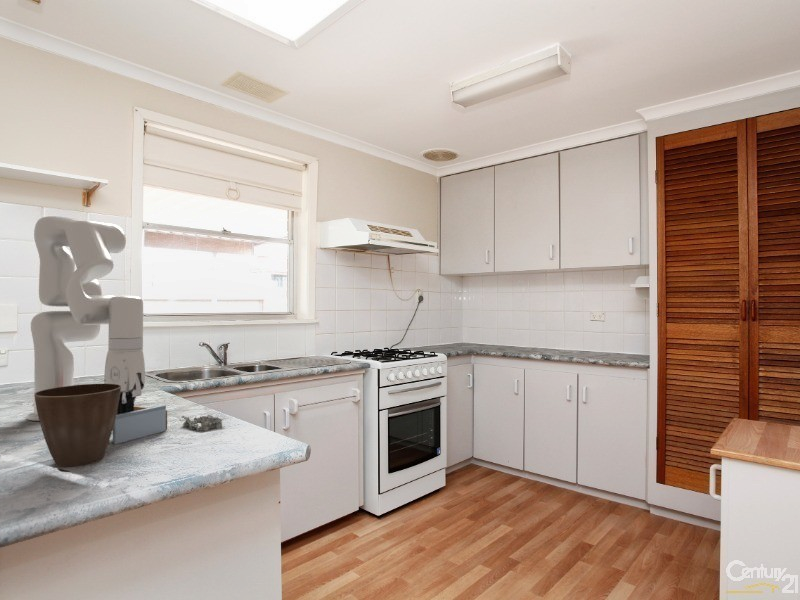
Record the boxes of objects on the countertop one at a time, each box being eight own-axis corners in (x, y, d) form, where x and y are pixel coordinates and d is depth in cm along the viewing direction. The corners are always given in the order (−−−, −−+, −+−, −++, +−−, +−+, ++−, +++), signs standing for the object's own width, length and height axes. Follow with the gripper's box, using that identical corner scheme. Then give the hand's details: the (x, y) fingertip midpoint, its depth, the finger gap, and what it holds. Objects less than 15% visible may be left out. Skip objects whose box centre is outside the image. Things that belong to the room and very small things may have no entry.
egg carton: (179, 430, 127) (179, 415, 127) (207, 425, 133) (207, 410, 133) (198, 438, 120) (198, 421, 120) (226, 432, 125) (225, 416, 126)
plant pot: (22, 484, 88) (23, 398, 89) (45, 460, 102) (46, 386, 102) (115, 472, 94) (115, 392, 95) (125, 451, 108) (125, 381, 108)
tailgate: (112, 443, 110) (112, 415, 110) (162, 430, 122) (162, 405, 122) (115, 444, 110) (115, 416, 110) (165, 430, 121) (165, 405, 121)
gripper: (92, 345, 119) (92, 418, 118) (130, 347, 112) (129, 425, 112) (122, 342, 125) (121, 412, 125) (159, 345, 119) (158, 418, 118)
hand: (125, 418), depth 118 cm, fingers closed
